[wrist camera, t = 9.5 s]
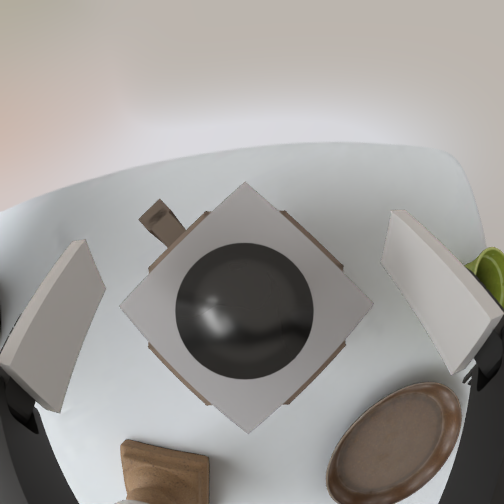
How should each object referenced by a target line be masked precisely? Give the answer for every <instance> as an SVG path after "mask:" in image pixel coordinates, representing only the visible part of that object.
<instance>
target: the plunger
mask: <svg viewBox="0 0 504 504" xmlns="http://www.w3.org/2000/svg"><path fill="white" fill-rule="evenodd" d="M175 316H176V324H177V328H178V331H179V334H180V337H181V339H182V341H183V343H184V345H185V347H186V348H187V350H188V351H189V353H190V354H191V355H192V356H193V357H194V358H195V359H196V360H197V361H198V362H199V363H200V364H201V365H202V366H204V367H205V368H207V369H209V370H210V371H212V372H214V373H216V374H218V375H221V376H224V377H228V378H233V379H243V380H247V379H257V378H262V377H265V376H268V375H271V374H273V373H275V372H277V371H279V370H281V369H282V368H284V367H285V366H287V365H288V364H289V363H290V362H291V361H293V360H294V359H295V358H296V356H297V355H298V354H299V353H300V352H301V350H302V349H303V347H304V345H305V344H306V342H307V340H308V337H309V335H310V332H311V329H312V324H313V316H314V307H313V299H312V294H311V291H310V288H309V285H308V283H307V281H306V279H305V277H304V275H303V274H302V273H301V271H300V270H299V268H298V267H297V266H296V265H295V264H294V263H293V262H292V261H291V260H290V259H288V258H287V257H286V256H285V255H283V254H281V253H280V252H278V251H276V250H274V249H272V248H270V247H267V246H264V245H260V244H254V243H234V244H229V245H225V246H222V247H219V248H216V249H214V250H212V251H210V252H209V253H207V254H206V255H204V256H203V257H201V258H200V259H199V260H198V261H197V262H196V263H195V264H194V265H193V266H192V267H191V268H190V269H189V271H188V272H187V274H186V275H185V277H184V279H183V281H182V283H181V285H180V287H179V290H178V293H177V298H176V306H175Z"/></svg>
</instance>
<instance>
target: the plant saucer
mask: <svg viewBox="0 0 504 504" xmlns="http://www.w3.org/2000/svg"><path fill="white" fill-rule="evenodd" d="M461 421H462V413H461V406H460V403H459V400H458V398H457V396H456V394H455V393H454V392H453V391H452V390H451V389H450V388H449V387H447V386H445V385H443V384H440V383H436V382H422V383H417V384H413V385H410V386H407V387H404V388H402V389H400V390H397V391H395V392H393V393H392V394H390V395H388V396H386V397H384V398H383V399H381V400H380V401H379V402H377V403H376V404H374V405H373V406H372V407H370V408H369V409H368V410H367V411H365V412H364V413H363V414H362V415H361V416H360V417H359V418H358V419H357V420H356V421H355V422H354V423H353V424H352V425H351V426H350V428H349V429H348V430H347V431H346V433H345V434H344V435H343V437H342V438H341V440H340V441H339V443H338V444H337V446H336V448H335V450H334V452H333V454H332V456H331V458H330V461H329V464H328V467H327V472H326V487H327V490H328V493H329V495H330V496H331V498H332V499H333V500H334V501H335V502H336V503H338V504H395V503H397V502H399V501H401V500H403V499H405V498H407V497H409V496H410V495H412V494H413V493H415V492H416V491H418V490H419V489H420V488H422V487H423V486H424V485H425V484H426V483H427V482H428V481H430V480H431V479H432V478H433V477H434V476H435V475H436V473H437V472H438V471H439V470H440V469H441V467H442V466H443V465H444V463H445V462H446V461H447V459H448V457H449V456H450V454H451V452H452V450H453V448H454V446H455V444H456V441H457V439H458V436H459V432H460V428H461Z"/></svg>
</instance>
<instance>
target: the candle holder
mask: <svg viewBox="0 0 504 504" xmlns="http://www.w3.org/2000/svg"><path fill="white" fill-rule="evenodd" d="M120 450H121V461H122V467H123V475H124V481H125V486H126V491H127V498H126V500H122V501H119V502H117V503H115V504H209V458H208V457H207V456H205V455H199V454H194V453H188V452H182V451H176V450H171V449H166V448H162V447H157V446H153V445H149V444H145V443H141V442H137V441H132V440H125V441H124V442H123V443H122V444H121V446H120Z"/></svg>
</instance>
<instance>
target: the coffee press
mask: <svg viewBox="0 0 504 504" xmlns="http://www.w3.org/2000/svg"><path fill="white" fill-rule="evenodd" d="M138 220H139V221H140V222H141V223H142V224H143V225H144V226H145V228H146V229H147V230H148V231H149V232H150V233H151V234H153V235H154V236H155V237H156V238H158V239H159V240H160V241H161V242H162V243H164V244H165V245H166V246H167V248H168V249H167V250H166V251H165V252H164V253H163V254H162V255H161V256H160V257H159V258H158V259H157V260H156V261H155V262H154V263H153V264H152V265H151V266H149V268H148V269H149V274H148V275H147V276H146V278H145V279H144V280H143V281H142V282H141V283H140V284H139V285H138V286H137V287H136V288H135V289H134V290H133V291H132V292H131V293H130V295H129V296H128V297H127V298H126V299H125V300H124V301H123V302H122V303H121V304H120V305H119V307H120V308H121V309H122V311H123V312H124V313H125V314H126V316H127V317H128V318H129V319H130V320H131V322H132V323H133V324H134V325H135V326H136V328H137V329H138V330H139V331H140V332H141V333H142V335H143V336H144V337H145V338H146V339H147V340H148V345H149V346H148V347H149V349H150V350H151V351H152V352H153V353H154V354H155V355H156V356H157V357H158V358H159V359H160V360H161V361H162V363H163V364H164V365H165V366H166V367H167V368H168V369H169V370H170V371H171V372H172V373H173V374H174V375H175V376H176V377H177V378H178V379H179V380H180V381H181V382H182V383H183V384H184V385H185V386H186V387H187V388H189V389H190V390H191V391H192V392H193V393H194V394H195V395H196V396H197V397H198V398H199V399H200V400H202V401H203V402H204V403H205V405H207V406H208V405H213V406H214V407H216V408H217V409H218V410H219V411H220V412H221V413H223V414H224V415H225V416H226V417H227V418H229V419H230V420H231V421H232V422H233V423H235V424H236V425H237V426H238V427H240V428H241V429H242V430H244V431H245V432H246V433H247V434H249V433H250V432H251V431H252V430H254V429H255V428H256V427H257V426H258V425H260V424H261V423H262V422H263V421H264V420H265V419H267V418H268V417H269V416H270V415H271V414H272V413H273V412H274V411H276V410H277V409H278V408H279V407H280V406H281V405H284V404H287V405H288V404H290V403H291V402H292V401H293V400H294V399H295V398H296V397H297V396H298V395H299V394H300V393H301V392H302V391H303V390H304V389H305V388H306V387H307V386H308V385H309V384H310V383H311V382H312V381H313V380H314V379H315V378H316V377H317V376H318V375H319V374H320V373H321V372H322V371H323V370H324V369H325V368H326V367H327V365H328V364H329V363H330V362H331V361H332V360H333V359H334V358H335V357H336V356H337V355H338V353H339V352H340V351H341V350H342V349H343V348H344V347H345V345H346V344H345V339H346V338H347V337H348V335H349V334H350V333H351V332H352V331H353V329H354V328H355V327H356V326H357V325H358V323H359V322H360V321H361V320H362V319H363V317H364V316H365V315H366V314H367V312H368V311H369V310H370V308H371V307H372V306H373V305H374V303H373V302H372V301H371V300H370V299H369V298H368V297H367V296H366V295H365V294H364V293H363V292H362V291H361V290H360V289H359V288H358V287H357V286H356V285H355V284H354V283H353V282H352V281H351V280H350V279H349V278H348V277H347V276H346V275H345V274H344V273H343V267H344V266H343V264H341V263H340V262H339V261H338V260H337V259H336V258H335V257H334V256H333V255H332V254H331V253H330V252H329V251H327V250H326V249H325V248H324V247H323V246H322V245H321V244H320V243H319V242H318V241H317V240H316V239H315V238H314V237H313V236H312V235H311V234H310V233H309V232H307V231H306V230H305V229H304V228H303V227H302V226H301V225H300V224H299V223H298V222H297V221H296V220H295V219H293V218H292V217H291V216H290V215H289V214H288V213H287V212H286V211H285V210H284V211H278V210H277V209H276V208H275V207H273V206H272V205H271V204H270V203H269V202H268V201H267V200H266V199H264V198H263V197H262V196H261V195H260V194H259V193H258V192H257V191H255V190H254V189H253V188H252V187H251V186H250V185H249V184H247V183H246V182H244V183H243V184H242V185H241V186H239V187H238V188H237V189H236V190H235V191H234V192H233V193H232V194H231V195H229V196H228V197H227V198H226V199H225V200H224V201H223V202H222V203H221V204H220V205H219V206H218V207H216V208H215V209H214V210H213V211H212V212H207V211H206V212H204V214H203V215H202V216H200V217H199V218H198V219H197V220H196V221H195V222H194V223H193V224H192V225H191V226H190V227H189V228H188V229H187V230H185V228H184V227H183V226H182V224H181V223H180V222H179V220H178V219H177V218H176V216H175V215H174V214H173V212H172V211H171V210H170V209H169V208H168V207H167V206H166V205H165V204H164V203H163V201H162V200H161V199H159V200H158V201H157V202H156V203H155V204H154V205H153V206H152V207H151V208H150V209H148V210H147V211H146V212H145V213H144V214H143V215H142V216H141V217H140V218H139V219H138ZM234 243H254V244H260V245H264V246H267V247H270V248H272V249H274V250H276V251H278V252H280V253H281V254H283V255H285V256H286V257H287V258H288V259H290V260H291V261H292V262H293V263H294V264H295V265H296V266H297V267H298V268H299V270H300V271H301V273H302V274H303V275H304V277H305V279H306V281H307V283H308V285H309V288H310V291H311V294H312V299H313V307H314V316H313V324H312V329H311V332H310V335H309V337H308V340H307V342H306V344H305V345H304V347H303V349H302V350H301V352H300V353H299V354H298V355H297V356H296V358H295V359H294V360H293V361H291V362H290V363H289V364H288V365H287V366H285V367H284V368H282V369H281V370H279V371H277V372H275V373H273V374H271V375H268V376H265V377H262V378H257V379H247V380H243V379H233V378H228V377H224V376H221V375H218V374H216V373H214V372H212V371H210V370H209V369H207V368H205V367H204V366H202V365H201V364H200V363H199V362H198V361H197V360H196V359H195V358H194V357H193V356H192V355H191V354H190V353H189V351H188V350H187V348H186V347H185V345H184V343H183V341H182V339H181V337H180V334H179V331H178V328H177V324H176V316H175V306H176V298H177V293H178V290H179V287H180V285H181V283H182V281H183V279H184V277H185V275H186V274H187V272H188V271H189V269H190V268H191V267H192V266H193V265H194V264H195V263H196V262H197V261H198V260H199V259H200V258H201V257H203V256H204V255H206V254H207V253H209V252H210V251H212V250H214V249H216V248H219V247H222V246H225V245H229V244H234Z"/></svg>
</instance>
